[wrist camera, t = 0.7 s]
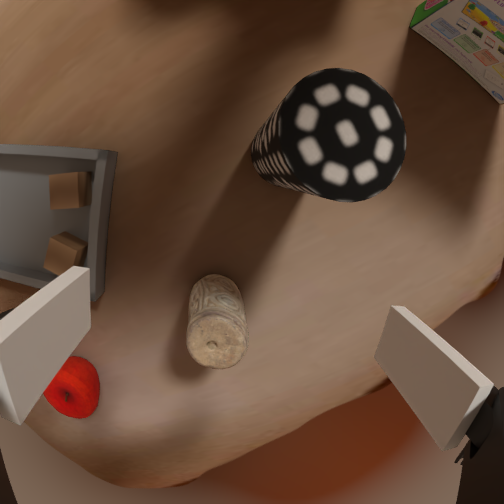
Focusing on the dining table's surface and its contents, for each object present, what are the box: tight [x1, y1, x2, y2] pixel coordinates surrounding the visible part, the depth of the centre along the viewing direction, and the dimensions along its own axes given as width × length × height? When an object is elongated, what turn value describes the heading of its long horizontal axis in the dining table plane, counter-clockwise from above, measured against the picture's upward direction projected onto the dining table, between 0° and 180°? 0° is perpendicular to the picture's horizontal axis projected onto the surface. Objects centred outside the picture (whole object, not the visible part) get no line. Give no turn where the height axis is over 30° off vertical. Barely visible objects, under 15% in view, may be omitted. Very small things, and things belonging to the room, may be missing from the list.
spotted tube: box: [251, 68, 406, 202], centre depth 27 cm, size 8×8×20 cm
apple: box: [43, 356, 100, 419], centre depth 38 cm, size 9×9×8 cm
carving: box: [186, 274, 249, 369], centre depth 35 cm, size 6×8×12 cm
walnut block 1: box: [49, 172, 92, 210], centre depth 33 cm, size 4×4×4 cm
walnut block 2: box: [43, 231, 88, 276], centre depth 35 cm, size 4×4×4 cm
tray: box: [0, 144, 118, 302], centre depth 34 cm, size 18×26×4 cm
